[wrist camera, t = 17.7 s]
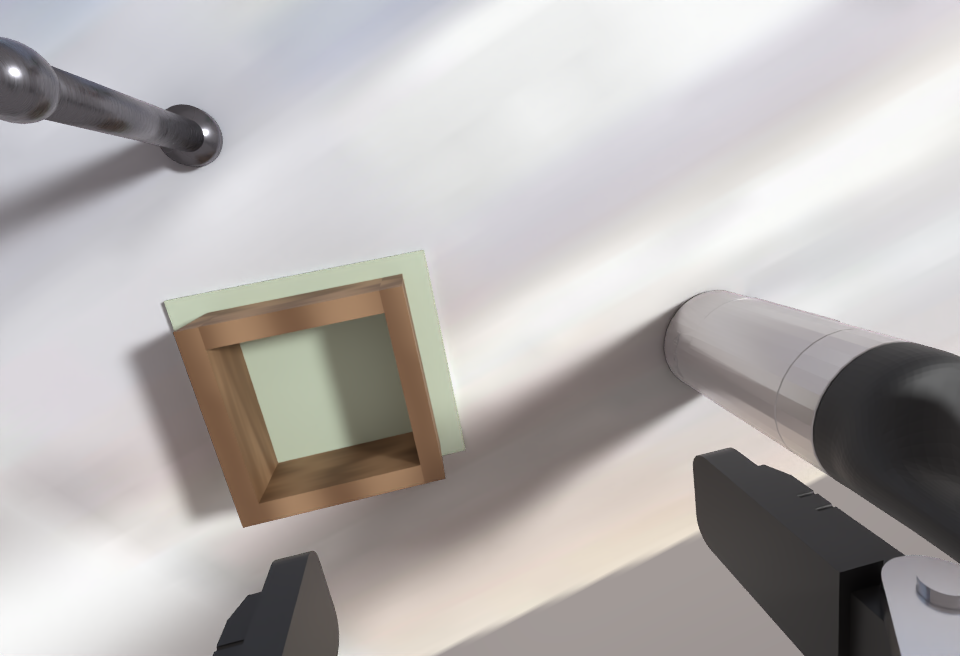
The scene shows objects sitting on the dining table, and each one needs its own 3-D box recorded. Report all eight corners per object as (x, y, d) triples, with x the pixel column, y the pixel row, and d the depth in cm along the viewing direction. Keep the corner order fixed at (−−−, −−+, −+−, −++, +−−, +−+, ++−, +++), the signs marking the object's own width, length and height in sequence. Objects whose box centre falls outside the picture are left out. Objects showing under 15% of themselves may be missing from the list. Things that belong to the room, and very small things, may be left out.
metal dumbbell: (212, 102, 36) (14, 0, 17) (229, 161, 37) (60, 121, 19) (154, 112, 35) (-111, 17, 17) (173, 170, 36) (-57, 140, 18)
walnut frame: (402, 273, 40) (402, 285, 34) (439, 442, 44) (445, 478, 38) (207, 312, 39) (173, 332, 33) (264, 483, 43) (243, 527, 37)
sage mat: (423, 249, 40) (423, 250, 40) (465, 448, 45) (465, 450, 45) (166, 300, 38) (163, 301, 38) (237, 502, 43) (236, 504, 43)
